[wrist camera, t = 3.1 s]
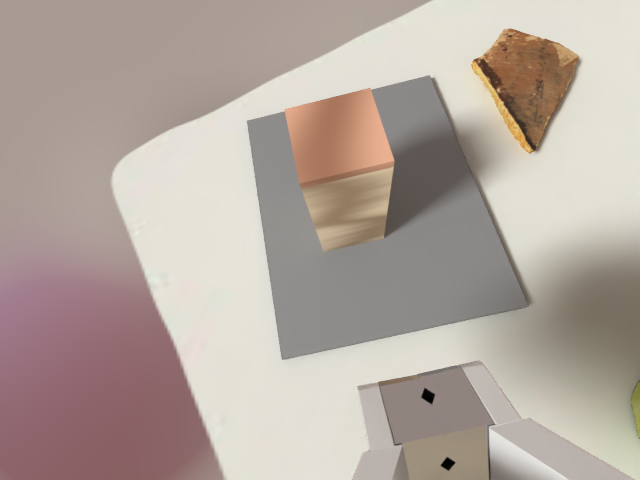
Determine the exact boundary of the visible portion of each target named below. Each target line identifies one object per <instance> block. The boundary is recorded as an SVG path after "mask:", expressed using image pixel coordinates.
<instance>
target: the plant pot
mask: <svg viewBox="0 0 640 480" xmlns="http://www.w3.org/2000/svg"><path fill="white" fill-rule="evenodd" d="M631 406H632V409H633V412H634V417H635V422H636V428H637V434H638V436H639V438H640V381H639V382H638V384H637V386H636V387H635V390H634V392H633V395H632V399H631Z"/></svg>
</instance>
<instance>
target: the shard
mask: <svg viewBox="0 0 640 480" xmlns="http://www.w3.org/2000/svg"><path fill="white" fill-rule="evenodd" d="M578 59H579V57H578V55H577V54H575V53H574V52H572V51H571V50H569V49H567V48H566V47H564V46H563V45H561V44H559V43H556V42H553V41H550V40H547V39H541V38H539V37H535V36H533V35H529V34H525V33H522V32H520V31H517V30H514V29H504V30H503V31H502V33H501V34H500V36H499V38H498V39H497V40H496V42H495V43H494V45H493V46H492V47H491V48H490V49H489V50H488V51H487V52H486V53H484V54H483V56H482V57H479V58H477V59H474V60H473V62H472V64H471V65H472V69H473V71H474V72H475V73H476V74H477V75H478V76H479V77H480V79H482V81H483V82H484V84H485V86H486V87H487V88H488V89H489V91H490V93H491V95H492V97H493V99H494V100H495V103H496V106H497V108H498V109H499V111H500V113H501V115H502V116H503V118H504V121H505V123H506V124H507V125H508V128H509V130H510V132H511V133H512V135H513V136H514V137H515V139H516V140H518V142H519V143H520V145H521V146H522V147H523V148H524V149H525V150H526V151H527V152H528V153H529V154H530V152H531V151H532V152H534V151H535V149H536V147H537V146H538V142H539V141H540V139H541V137H542V135H543V132H544V129H545V126H546V125H547V123H548V121H549V119H550V117H551V115H552V113H553V111H555V109H556V108H557V106H558V104H559V102H560V100H561V98H562V96H563V95H564V93H565V91H566V89H567V87H568V84H569V82H570V81H571V78H572V75H573V73H574V66H575V64H576V63H577V61H578Z"/></svg>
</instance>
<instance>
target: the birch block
mask: <svg viewBox="0 0 640 480" xmlns="http://www.w3.org/2000/svg"><path fill="white" fill-rule="evenodd" d="M284 110H285V115H286V120H287V125H288V130H289V135H290V140H291V145H292V150H293V155H294V160H295V165H296V170H297V175H298V180H299V184H300V187H301V190H302V193H303V195H304V198H305V201H306V204H307V207H308V209H309V212H310V215H311V218H312V221H313V223H314V226H315V229H316V232H317V235H318V238H319V240H320V243H321V246H322V249H323V252H327V251H332V250H336V249H340V248H345V247H349V246H353V245H358V244H362V243H366V242H371V241H375V240H379V239H384V233H385V226H386V218H387V211H388V204H389V197H390V190H391V183H392V176H393V168H394V158H393V155H392V152H391V149H390V146H389V143H388V140H387V137H386V134H385V131H384V128H383V125H382V122H381V119H380V116H379V113H378V110H377V107H376V104H375V101H374V98H373V95H372V92H371V89H370V88H368V89H364V90H360V91H356V92H352V93H348V94H344V95H340V96H336V97H332V98H328V99H324V100H320V101H316V102H312V103H308V104H304V105H300V106H296V107H292V108H288V109H284Z"/></svg>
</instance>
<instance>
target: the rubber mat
mask: <svg viewBox="0 0 640 480" xmlns="http://www.w3.org/2000/svg"><path fill="white" fill-rule="evenodd" d="M371 92H372V95H373V98H374V101H375V104H376V107H377V110H378V113H379V116H380V119H381V122H382V125H383V128H384V131H385V134H386V137H387V140H388V143H389V146H390V149H391V152H392V155H393V158H394V168H393V176H392V183H391V190H390V197H389V204H388V211H387V218H386V226H385V233H384V239H379V240H375V241H371V242H366V243H362V244H358V245H353V246H349V247H345V248H340V249H336V250H332V251H327V252H323V249H322V246H321V243H320V240H319V238H318V235H317V232H316V229H315V226H314V223H313V221H312V218H311V215H310V212H309V209H308V207H307V204H306V201H305V198H304V195H303V193H302V190H301V187H300V184H299V180H298V175H297V170H296V165H295V160H294V155H293V150H292V145H291V140H290V135H289V130H288V125H287V120H286V115H285V112H281V113H277V114H273V115H269V116H265V117H261V118H257V119H253V120H249V121H247V124H248V131H249V138H250V145H251V152H252V158H253V165H254V172H255V179H256V186H257V193H258V200H259V206H260V213H261V220H262V227H263V234H264V241H265V248H266V255H267V261H268V268H269V275H270V282H271V289H272V296H273V303H274V309H275V316H276V323H277V330H278V337H279V344H280V351H281V357H282V360H285V359H289V358H294V357H298V356H303V355H308V354H312V353H317V352H322V351H326V350H331V349H335V348H340V347H345V346H349V345H354V344H359V343H363V342H368V341H373V340H377V339H382V338H386V337H391V336H396V335H400V334H405V333H410V332H414V331H419V330H423V329H428V328H433V327H437V326H442V325H447V324H451V323H456V322H460V321H465V320H470V319H474V318H479V317H484V316H488V315H493V314H498V313H502V312H507V311H511V310H516V309H521V308H525V307H528V304H527V301H526V299H525V297H524V294H523V292H522V290H521V287H520V285H519V283H518V280H517V278H516V276H515V273H514V271H513V269H512V266H511V264H510V262H509V259H508V257H507V255H506V252H505V250H504V248H503V245H502V243H501V241H500V238H499V236H498V234H497V231H496V229H495V227H494V224H493V222H492V220H491V217H490V215H489V213H488V210H487V208H486V206H485V203H484V201H483V199H482V196H481V194H480V192H479V189H478V187H477V185H476V182H475V180H474V178H473V175H472V173H471V171H470V168H469V166H468V164H467V161H466V159H465V157H464V154H463V152H462V150H461V147H460V145H459V143H458V140H457V138H456V136H455V133H454V131H453V129H452V126H451V124H450V122H449V119H448V117H447V115H446V112H445V110H444V108H443V105H442V103H441V101H440V98H439V96H438V94H437V91H436V89H435V87H434V84H433V82H432V80H431V77H430V75H429V76H425V77H421V78H417V79H413V80H409V81H405V82H401V83H397V84H393V85H389V86H385V87H381V88H377V89H373V90H371Z"/></svg>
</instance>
